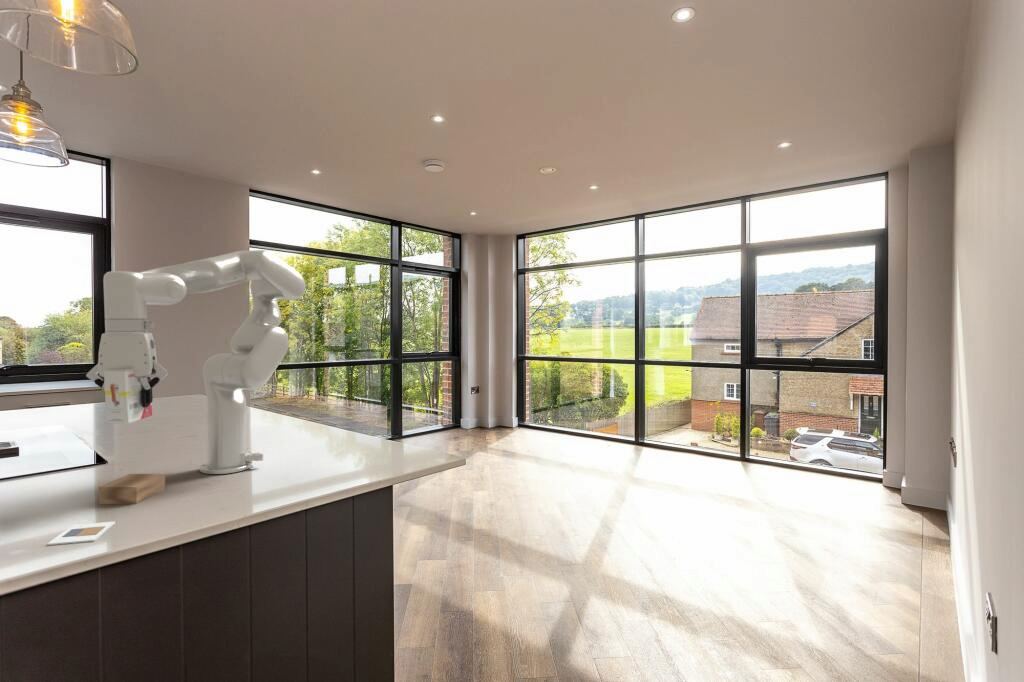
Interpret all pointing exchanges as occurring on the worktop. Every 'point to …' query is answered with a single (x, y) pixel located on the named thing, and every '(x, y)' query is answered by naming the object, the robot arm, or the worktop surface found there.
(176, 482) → the worktop surface
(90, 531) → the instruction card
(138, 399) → the ink box
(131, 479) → the base block
